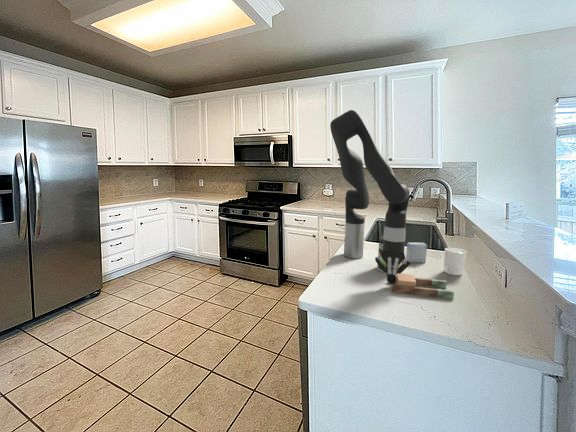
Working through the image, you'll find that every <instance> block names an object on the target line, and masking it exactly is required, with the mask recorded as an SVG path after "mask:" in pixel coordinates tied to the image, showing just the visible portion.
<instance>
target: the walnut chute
mask: <svg viewBox="0 0 576 432" xmlns="http://www.w3.org/2000/svg"><path fill="white" fill-rule="evenodd" d="M414 278H415V280H416V287H411V286H401V285H396V277H395V283H394V282H393V284H391V293H395V294H403V295H411V296H413V295H414V296H422V297H423V296H424V297H430V298H431V297H433V298H441V299H451V300H454V295H455V292H454V290H448V289H447V284H448V281H447V280H443V279H434V278H433V279H432V278H431V279H430V278H421V277H414ZM419 286H420V287H419ZM422 286H423V287H422ZM427 287H428V288H427ZM429 287H431V288H429ZM440 288H441V289H440Z"/></svg>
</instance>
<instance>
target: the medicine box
mask: <svg viewBox="0 0 576 432" xmlns="http://www.w3.org/2000/svg"><path fill="white" fill-rule="evenodd" d="M427 250H428V244H426V243H425V242H408V241H407V243H406V251H405V254H406V255H405V258H406V259H408V260H410V262H411V263H426V262H427V261H426V260H427V252H428V251H427Z"/></svg>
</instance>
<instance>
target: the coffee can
mask: <svg viewBox="0 0 576 432" xmlns="http://www.w3.org/2000/svg"><path fill="white" fill-rule="evenodd" d="M382 251H383V235H381V236H378V251H377V252H378V255H377V257H379V256H380V255H381V253H382ZM382 263H383V265H384V266H385V268H387V264H386V263H385V261H384V260H383V259H382ZM402 264H403V261H402V262H401V263H400V264H399V265H398V266H397V269H398V268H399V267H400V266H401V265H402ZM376 266H377V267H376V269H377V270H378V272H379V271H380V272H381V273H386V272H383V271H382V269H381V268H380V266H379V265H378V264H377V265H376ZM392 269H393V265H391V273H392ZM386 274H387V273H386Z"/></svg>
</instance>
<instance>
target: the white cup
mask: <svg viewBox="0 0 576 432" xmlns="http://www.w3.org/2000/svg"><path fill="white" fill-rule="evenodd" d="M466 255H467V250H465V249H463V248H458V247H445V248H444V256H443V257H444V260H443V265H444V266H443V271H444V273H446V274H448V275H450V276H462V275H463V270H464V267H465V262H466Z"/></svg>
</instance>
